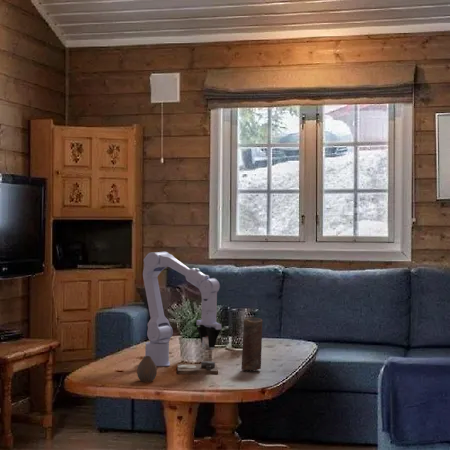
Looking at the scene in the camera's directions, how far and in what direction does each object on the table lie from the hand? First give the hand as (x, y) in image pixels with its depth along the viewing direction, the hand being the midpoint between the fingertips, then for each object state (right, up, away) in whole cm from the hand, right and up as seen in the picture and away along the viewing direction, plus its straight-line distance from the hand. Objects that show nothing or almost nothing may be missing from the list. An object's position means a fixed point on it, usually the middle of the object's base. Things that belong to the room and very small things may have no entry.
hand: (208, 346), depth 342 cm
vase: (-21, -10, -22) cm, 32 cm away
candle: (+16, -10, +1) cm, 19 cm away
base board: (-4, -9, 0) cm, 10 cm away
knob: (0, -1, 0) cm, 1 cm away
